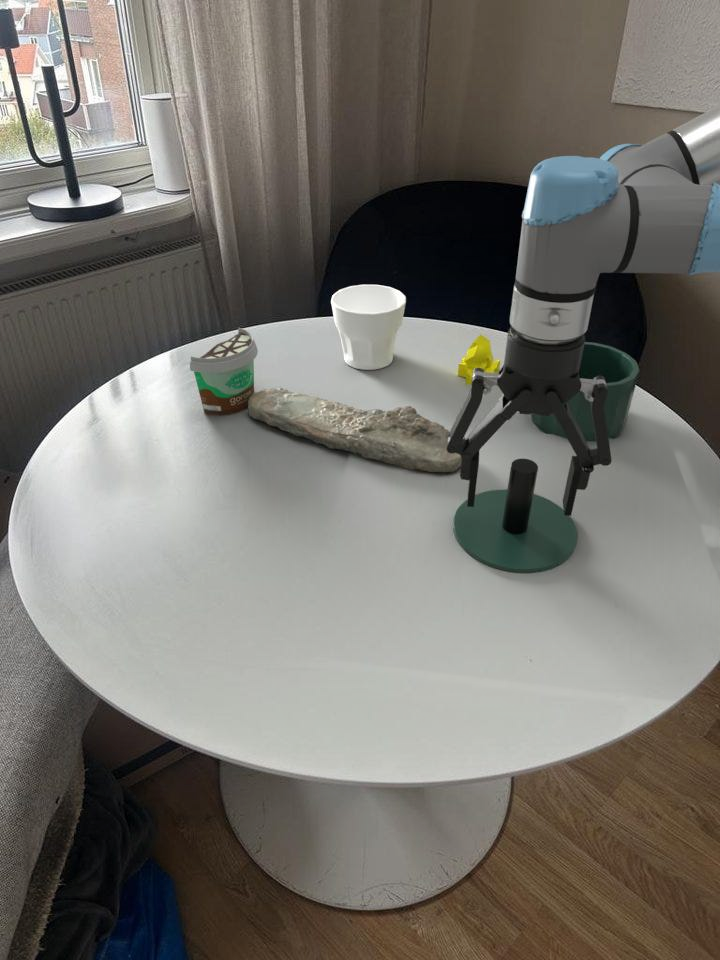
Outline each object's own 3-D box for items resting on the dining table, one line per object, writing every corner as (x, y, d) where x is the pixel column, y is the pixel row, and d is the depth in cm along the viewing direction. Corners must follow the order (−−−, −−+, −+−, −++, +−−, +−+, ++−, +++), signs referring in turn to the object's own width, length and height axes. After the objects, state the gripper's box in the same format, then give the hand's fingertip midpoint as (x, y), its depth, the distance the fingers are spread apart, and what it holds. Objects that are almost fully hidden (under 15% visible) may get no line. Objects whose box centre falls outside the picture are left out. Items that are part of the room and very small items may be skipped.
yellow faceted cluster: (502, 367, 120) (507, 325, 115) (487, 388, 114) (492, 345, 109) (469, 360, 122) (473, 318, 117) (453, 381, 116) (456, 337, 111)
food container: (229, 427, 105) (221, 367, 99) (197, 416, 108) (188, 357, 102) (277, 391, 114) (272, 334, 108) (247, 382, 116) (240, 326, 110)
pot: (617, 399, 111) (630, 344, 105) (630, 447, 100) (646, 389, 95) (529, 393, 113) (538, 338, 107) (532, 440, 102) (542, 382, 96)
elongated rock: (272, 400, 114) (236, 433, 107) (267, 372, 111) (229, 403, 104) (477, 448, 99) (450, 489, 93) (478, 416, 96) (450, 456, 89)
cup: (380, 337, 129) (380, 278, 123) (418, 364, 121) (421, 303, 114) (320, 353, 124) (317, 293, 118) (355, 383, 116) (354, 320, 109)
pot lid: (570, 502, 91) (585, 435, 84) (581, 583, 79) (599, 512, 73) (455, 491, 92) (461, 426, 86) (449, 569, 81) (456, 500, 75)
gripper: (428, 338, 68) (418, 515, 81) (676, 354, 65) (623, 534, 78) (433, 307, 74) (423, 476, 87) (661, 320, 71) (614, 493, 84)
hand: (518, 504), depth 83 cm, fingers open, 10 cm apart
